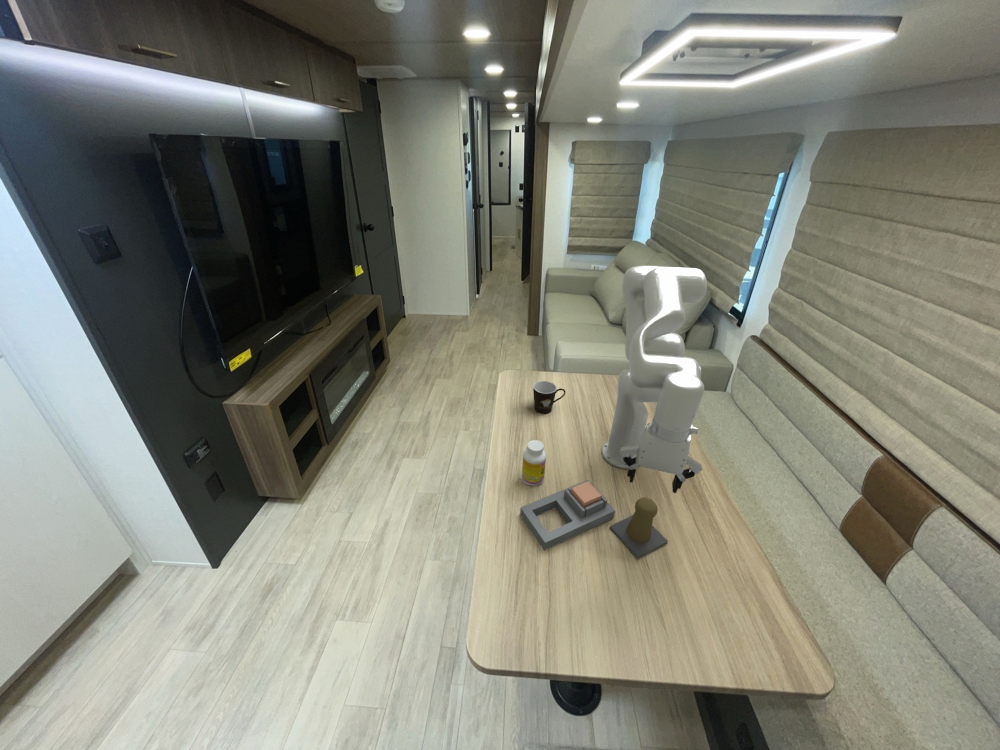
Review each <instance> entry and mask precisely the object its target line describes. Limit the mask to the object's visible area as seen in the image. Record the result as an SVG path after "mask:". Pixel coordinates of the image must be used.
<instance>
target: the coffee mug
mask: <svg viewBox="0 0 1000 750" xmlns="http://www.w3.org/2000/svg"><path fill="white" fill-rule="evenodd" d="M532 390H533V392H532V393H533V406H534V411H535V412H536V413H537V414H539V415H548V414H551V413H552V410H553V405H554V404H555V403H556V402H558V401H559V400H561V399H562V398H564V397H565V395H566V390H565V389H564V388H558V386H557V385H556V384H555V383H554V382H551V381H548V380H539V381H536V382H534V384H533V385H532ZM560 391H562V392H563V394H562V395H561V396H560V397H558V398H557V399H555V398H556V394H557V393H558V392H560Z"/></svg>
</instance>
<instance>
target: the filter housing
mask: <svg viewBox="0 0 1000 750" xmlns="http://www.w3.org/2000/svg"><path fill="white" fill-rule="evenodd" d="M588 481H589V483H590V484H591V485H592V486H593V487H594V488H595V489H596V490H597V491H598V492H599V493H600V494H601V495H602V496H601V500H600V501H598V502H596V503H594V504H591V505H589V506H587V507H585V509H584V508H583V507H582V505H581V504H580V503H579V502H578V501H577V500H576V498H575V497H574V496H573V495H572V494H571V489H572V488H573V487H575V486H578V485H580V484H583V483H585V482H588ZM553 509H555V510H556V511H557V512H558V514H559V515H560V516H561V517H562V518H563V520H564V522H566V523H565V524H562V525H561V526H558V527H557V528H554V529H552V530H550V531H547V529H546V528H545V526H544V525H543V523H542V521H540V519H539V518H538V516H539V515H542V514H545V513H546V512H549V511H552V510H553ZM519 513H520V514H519V516H520V517H521V518H522V520H523V521H524V523H525V524H526V526H527V527H528V529H529V530H530V532H531V533H532V535H533V536H534V537H535V539H536V541H537V542H538V543H539V545H540V546H541V548H542V549H543V551H546V550H547V551H548V550H549V549H550V548H552V547H553V548H554V546H555V547H556V546H558V545H560V544H561V543H563V542H566V541H568V540H571V539H572V538H574V537H577V536H578V535H581V534H583V533H585V532H587V531H589V530H591V529H593V528H595V527H597V526H600V525H601V524H604V523H606V522H608V521H610V520H611V521H612V520H613V519H614V518H615V514H616V509H615V508H614V507H613V506H612V505H611V504H610V503H609V502H608V499H607V498H606V497H605V496H604V495H603V494H602V493H601V492H600V491H599V490H598V489H597V488H596V487H595V486H594V484H592V482H591V481H590V480H585V481H581V482H579V483H576V484H574V485H572V486H569V487H567V488H565V489H563V490H559V491H557V492H555V493H552V494H549V495H548V496H546V497H542V498H539V499H538V500H535V501H533V502H531V503H528V504H525V505H522V506H521V507H520V512H519Z"/></svg>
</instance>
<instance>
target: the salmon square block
mask: <svg viewBox="0 0 1000 750" xmlns="http://www.w3.org/2000/svg"><path fill="white" fill-rule="evenodd" d="M587 481H588V480H587ZM589 481H590V480H589ZM589 481H588V482H585V483H583V484H580V485H578V486H575V487H573V488H572V489H571V494H572V495H573V496H574V497H575V498H576V500H577V501H578V502H579V503H580V504H581V505H582V507H583V508H584V509H585V507H587V506H589V505H591V504H594V503H596V502H598V501H600V500H601V496H602V495H603V494H602V493H601V492H600V491H599V490H598V489H597V488H596V487H595V486H594V485H593V484H592V485H593V486H594V487H595V488H596V489H597V490H598V491H599V492H600V493H601V494H602V495H601V494H600V493H599V492H598V491H597V490H596V489H595V488H594V487H593V486H592V485H591V484H590V483H589Z"/></svg>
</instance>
